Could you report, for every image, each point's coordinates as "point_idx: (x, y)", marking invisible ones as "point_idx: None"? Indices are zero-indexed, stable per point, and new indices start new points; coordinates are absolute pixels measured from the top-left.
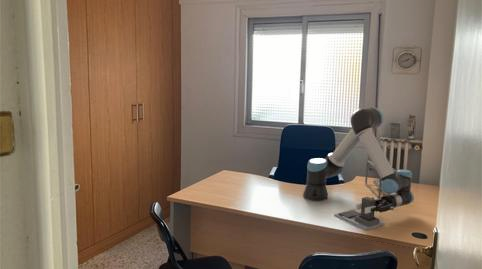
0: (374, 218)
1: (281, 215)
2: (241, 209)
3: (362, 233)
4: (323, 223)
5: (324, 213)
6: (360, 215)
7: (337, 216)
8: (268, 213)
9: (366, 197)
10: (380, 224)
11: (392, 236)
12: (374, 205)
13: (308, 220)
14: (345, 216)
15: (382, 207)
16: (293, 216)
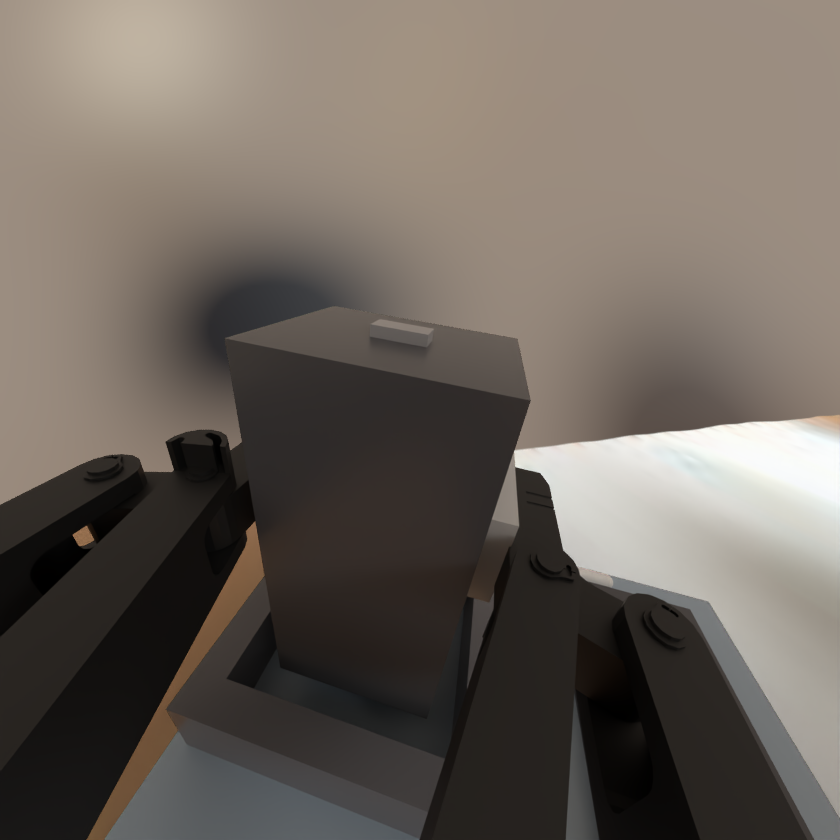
0: (270, 699)
1: (719, 443)
2: (795, 420)
3: None
4: (568, 465)
5: (781, 609)
6: (474, 619)
7: (652, 591)
8: (748, 435)
9: (487, 362)
10: (167, 752)
11: (80, 540)
12: (259, 474)
13: (631, 457)
14: (589, 582)
15: (39, 493)
16: (702, 457)
